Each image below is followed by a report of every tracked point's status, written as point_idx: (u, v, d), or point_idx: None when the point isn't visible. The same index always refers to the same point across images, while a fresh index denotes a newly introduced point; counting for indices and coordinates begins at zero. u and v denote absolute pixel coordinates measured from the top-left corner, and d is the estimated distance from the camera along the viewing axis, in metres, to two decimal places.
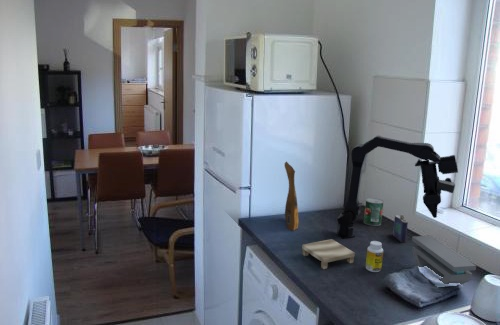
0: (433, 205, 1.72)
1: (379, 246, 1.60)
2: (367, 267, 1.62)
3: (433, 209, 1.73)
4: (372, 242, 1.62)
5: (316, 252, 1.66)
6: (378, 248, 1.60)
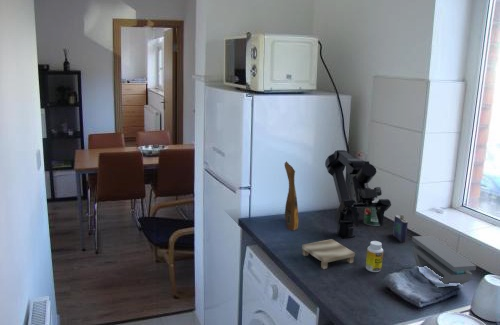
0: (352, 213, 1.70)
1: (379, 246, 1.60)
2: (367, 267, 1.62)
3: (353, 217, 1.69)
4: (372, 242, 1.62)
5: (316, 252, 1.66)
6: (378, 248, 1.60)
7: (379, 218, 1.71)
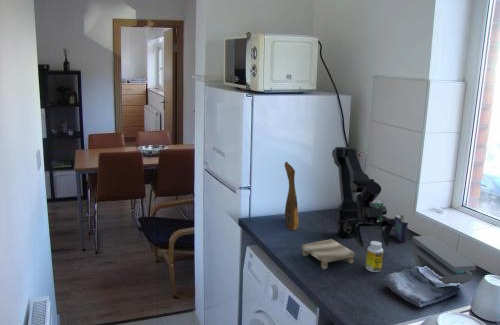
0: None
1: (379, 246, 1.60)
2: (367, 267, 1.62)
3: (357, 237, 1.64)
4: (372, 242, 1.62)
5: (316, 252, 1.66)
6: (378, 248, 1.60)
7: (384, 238, 1.65)
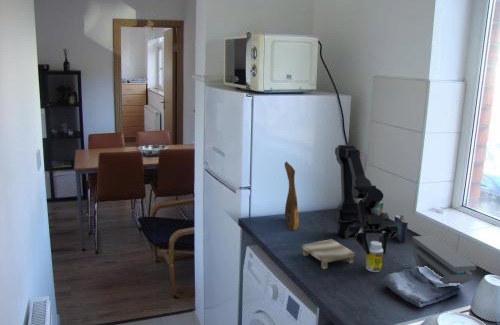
0: (362, 240, 1.63)
1: (379, 246, 1.60)
2: (367, 267, 1.62)
3: (363, 244, 1.62)
4: (372, 242, 1.62)
5: (316, 252, 1.66)
6: (378, 248, 1.60)
7: (382, 245, 1.63)
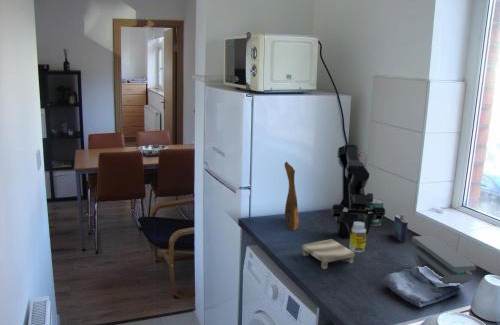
0: None
1: (361, 226, 1.60)
2: (350, 247, 1.63)
3: (346, 223, 1.63)
4: (355, 222, 1.62)
5: (316, 252, 1.66)
6: (360, 228, 1.60)
7: (366, 226, 1.63)
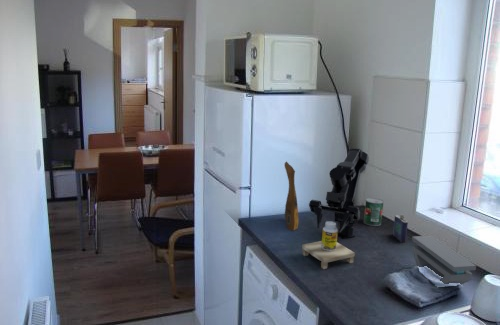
0: None
1: (330, 226, 1.66)
2: (321, 245, 1.70)
3: None
4: (328, 222, 1.69)
5: (316, 252, 1.66)
6: (329, 228, 1.66)
7: None
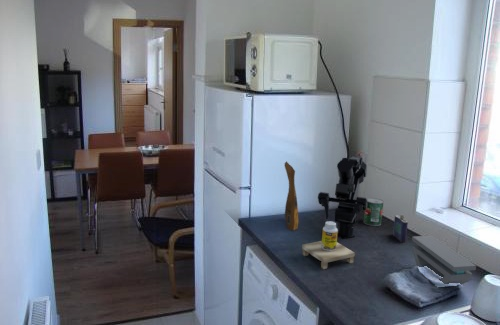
0: None
1: (330, 226, 1.66)
2: (321, 245, 1.70)
3: None
4: (328, 222, 1.69)
5: (316, 252, 1.66)
6: (329, 228, 1.66)
7: (352, 215, 1.73)
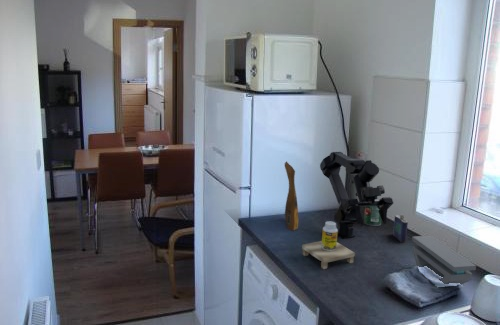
0: (356, 212, 1.71)
1: (330, 226, 1.66)
2: (321, 245, 1.70)
3: (357, 216, 1.70)
4: (328, 222, 1.69)
5: (316, 252, 1.66)
6: (329, 228, 1.66)
7: (382, 216, 1.72)
